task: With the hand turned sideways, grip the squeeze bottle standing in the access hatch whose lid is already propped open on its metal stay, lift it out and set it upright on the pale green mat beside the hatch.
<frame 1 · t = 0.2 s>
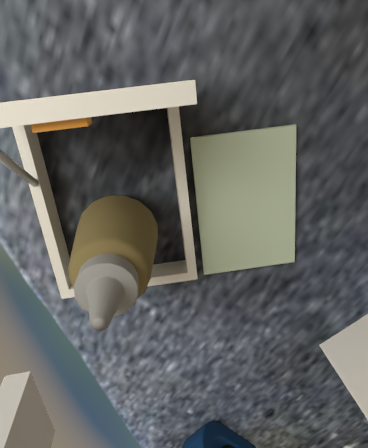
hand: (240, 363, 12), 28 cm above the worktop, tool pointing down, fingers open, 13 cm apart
access hatch: (116, 194, 37), on the worktop
handheld scanner: (223, 436, 53), on the worktop
green mat: (245, 203, 39), on the worktop
squeeze bottle: (121, 219, 39), resting in access hatch
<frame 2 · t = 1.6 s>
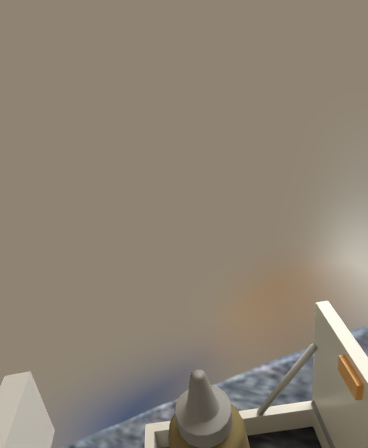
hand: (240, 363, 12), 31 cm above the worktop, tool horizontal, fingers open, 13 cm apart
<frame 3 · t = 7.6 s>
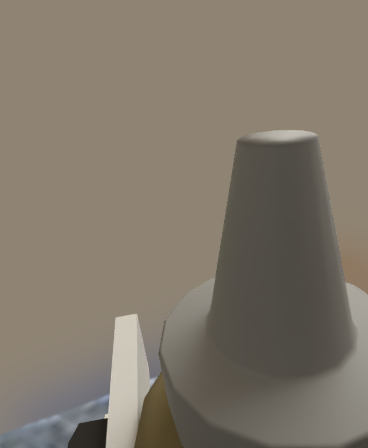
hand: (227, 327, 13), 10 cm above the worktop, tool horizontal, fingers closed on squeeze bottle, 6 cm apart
when the fingers open (11 cm above the worktop, at t = 11.9 s): squeeze bottle stays where it is, resting on green mat.
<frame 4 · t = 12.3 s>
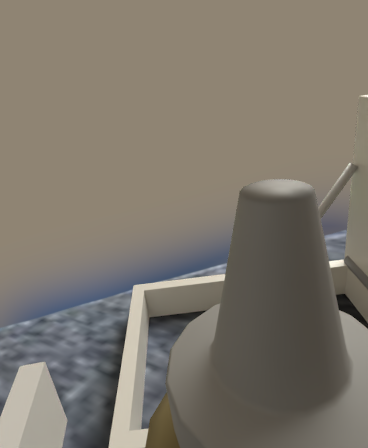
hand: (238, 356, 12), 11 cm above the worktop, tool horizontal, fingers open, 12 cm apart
access hatch: (264, 360, 26), on the worktop
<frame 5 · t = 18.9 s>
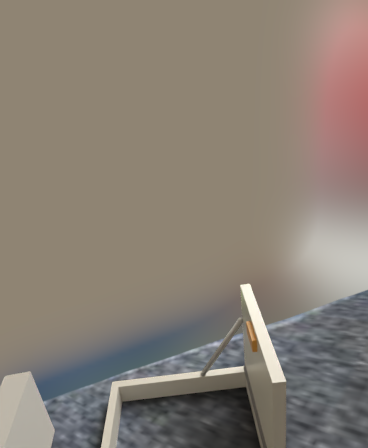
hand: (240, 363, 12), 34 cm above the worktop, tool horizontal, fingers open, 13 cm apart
access hatch: (186, 437, 45), on the worktop
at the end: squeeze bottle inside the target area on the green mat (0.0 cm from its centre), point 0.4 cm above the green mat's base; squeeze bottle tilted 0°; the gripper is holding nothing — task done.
